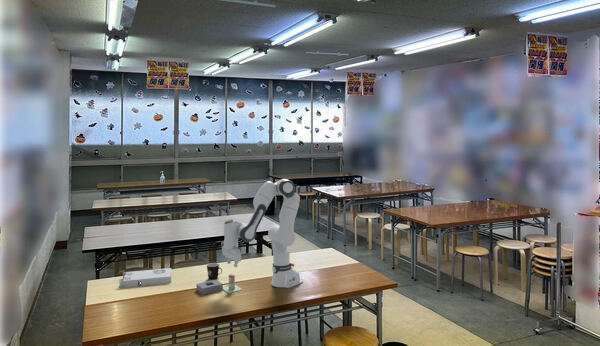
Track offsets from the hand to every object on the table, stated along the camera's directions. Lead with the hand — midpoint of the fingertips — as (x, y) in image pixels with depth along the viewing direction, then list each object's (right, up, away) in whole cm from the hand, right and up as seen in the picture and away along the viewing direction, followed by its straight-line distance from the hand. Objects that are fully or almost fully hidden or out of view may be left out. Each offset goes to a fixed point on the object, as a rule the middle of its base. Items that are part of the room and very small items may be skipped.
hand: (232, 265), depth 270 cm
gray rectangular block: (-15, -16, +1) cm, 22 cm away
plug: (-1, -16, +1) cm, 16 cm away
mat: (-1, -16, +1) cm, 16 cm away
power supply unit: (-63, -16, +19) cm, 67 cm away
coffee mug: (-16, -15, +21) cm, 30 cm away
